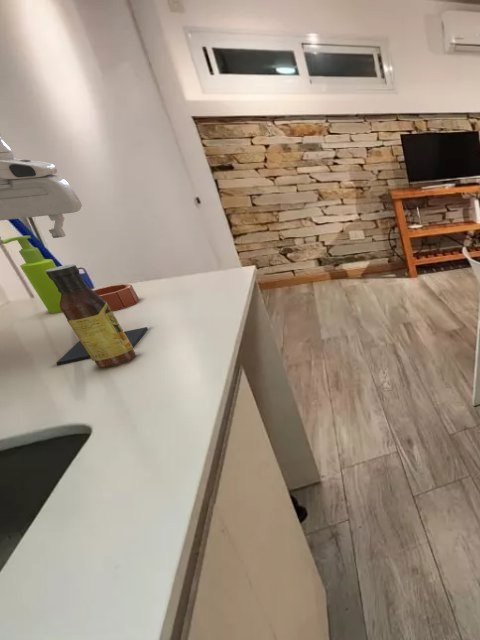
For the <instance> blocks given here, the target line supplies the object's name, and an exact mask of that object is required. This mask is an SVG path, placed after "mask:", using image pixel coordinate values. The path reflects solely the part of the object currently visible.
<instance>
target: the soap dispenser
mask: <svg viewBox="0 0 480 640" xmlns="http://www.w3.org/2000/svg"><path fill="white" fill-rule="evenodd" d="M28 239H32V237H31V235H20V236H13V237H8V238H5V239H2V240H3V244H2V245H5V244H9V243H12V242H16V241H17V243H18V244H19V246H20V247H21V248H20V250H18V253H19V255H20V256H21V257H22V259H23V260H24V263H22V264H21V265H19V267H20V269H21V270H22V272H23V273H24V275H25V276H26V278H27V279H28V281H29V283H30V284H31V287H32V288H33V289H34V291H35V292H36V293H37V295H38V297H39V298H40V300H41V302H42V304H43V305H44V307H45V308H46V310H47V311H48V313H49V314H58V313H63V312H62V311H61V309H60V299H61V293H60V292H59V291H58V288H57V287H56V285H55V284H54V282H53V280H51V279H50V278H49V277H48V275H47V273H46V270H48V269H52V268H55V267H57V265H56V263H55V262H54V260H53V259H51V258H45V257H44V255H43V254H42V252H41V251H40V249H39V248H38V247H35V246H32V244H31V243H30V241H29V240H28Z"/></svg>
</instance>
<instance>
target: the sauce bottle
mask: <svg viewBox="0 0 480 640" xmlns="http://www.w3.org/2000/svg"><path fill="white" fill-rule="evenodd" d="M46 273H47V275H48V277H49V278H50V279H51V280H53V282H54V284H55V285H56V287H57V288H58V291H59V292H60V293H61V299H60V309H61V311H62V312H61V313H63V315H64V317H65V318H66V321H67V323H68V324H69V326H70V327H71V329H72V331H73V332H74V334H75V335H76V337H77V338H78V341H81V343H82V345H83V346H84V348H85V349H86V351H87V352H88V354H89V355H90V357H91V358H90V359H91V361H94V363H95V364H96V366H97V367H98V368H110V367H111V368H112V367H114V366H118V365H121V364H123V363H126V362H129V361H130V360H131V359H133V358H135V356H136V351H135V350H134V347H133V346H132V345H131V343H130V341H129V340H128V338H127V336H126V334H125V333H124V332H125V331H124V329H123V327H122V326H121V324H120V323H119V321H118V319H117V317H116V315H115V314H114V311H111V309H110V307H109V306H108V304H107V302H106V301H105V300H104V299H103V298H101V297H100V296H99V295H98V294H97V293H95V292H94V291H93V290H94V289H92V288H91V287H90V286H88V285H87V283H86V282H85V281H84V278H83V277H82V275H81V274H80V269H79V268H78V267H77V265H76V264H74V263H73V264H65V265H60V266H56V267H55V268H52V269H48V270H46Z"/></svg>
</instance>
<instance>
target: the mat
mask: <svg viewBox="0 0 480 640" xmlns="http://www.w3.org/2000/svg"><path fill="white" fill-rule="evenodd" d="M147 331H148V327H147V326H144V327H139V328H135V329H129V330H125V331H124V333H125V334H126V336H127V338H128V340H129V341H130V343H131V345H132V346H133V348H134V347H135V346H136V344H137V343H138V342H139V341H140V340H141V339H142V338H143V336H144V335H145V334H146V332H147ZM88 359H91V357H90V355H89V354H88V352H87V351H86V349H85V348H84V346H83V345H82V343H81V341H80V340H78V341H77V343H75V344H74V345H73V346H72V347H71V348H70V349H69V350H67V352H66V353H65V354H64V355H63V356H61V357H60V358H59V359H58V360H57V361H56V365H57V366H60V365H65V364H68V363H69V364H70V363H74V362H78V361H82V360H83V361H84V360H88Z"/></svg>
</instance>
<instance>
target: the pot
mask: <svg viewBox="0 0 480 640" xmlns="http://www.w3.org/2000/svg"><path fill="white" fill-rule="evenodd" d="M92 290H93V291H94V292H95V293H97V294H98V295H99V296H100V297H101V298H103V299H104V300H105V301H106V302H107V304H108V306H109V307H110V309H111V311H112V312H114V311H118V310H123V309H125V308H128V307H131V306H133V305H136V304H138V302H139V301H140V298H139V296H138V294H137V292H136V290H135V288H134V287H133V285H132V284H129V283H120V284H113V285H112V284H111V285H108V286H103V287H100V288H99V287H98V288H96V289H92Z"/></svg>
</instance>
